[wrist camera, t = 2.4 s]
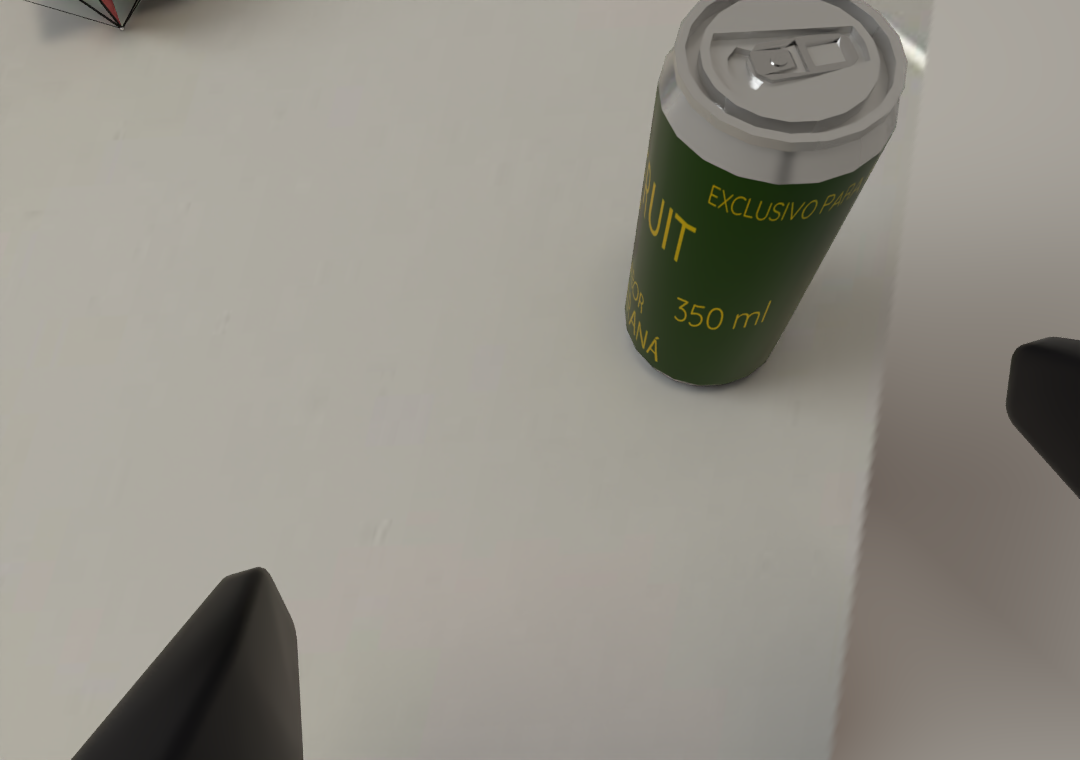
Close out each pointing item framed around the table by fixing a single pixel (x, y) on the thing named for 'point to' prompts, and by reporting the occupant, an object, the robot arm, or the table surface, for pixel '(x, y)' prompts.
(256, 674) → the robot arm
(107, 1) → the geometric puzzle
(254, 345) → the table surface
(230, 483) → the table surface
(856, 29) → the green metal cylinder
